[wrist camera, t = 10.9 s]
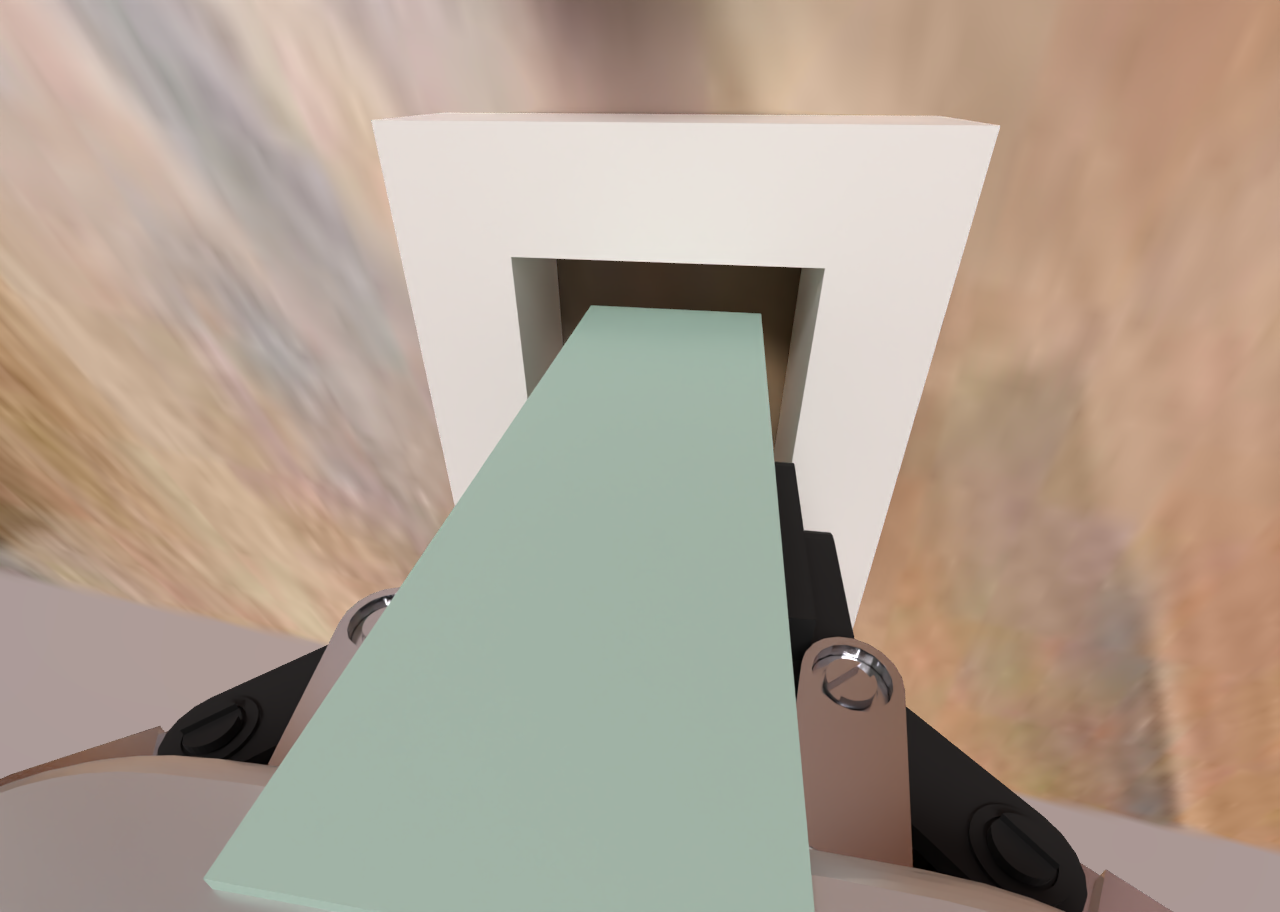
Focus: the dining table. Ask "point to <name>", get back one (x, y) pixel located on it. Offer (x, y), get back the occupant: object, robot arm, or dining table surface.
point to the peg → (571, 666)
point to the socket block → (698, 234)
